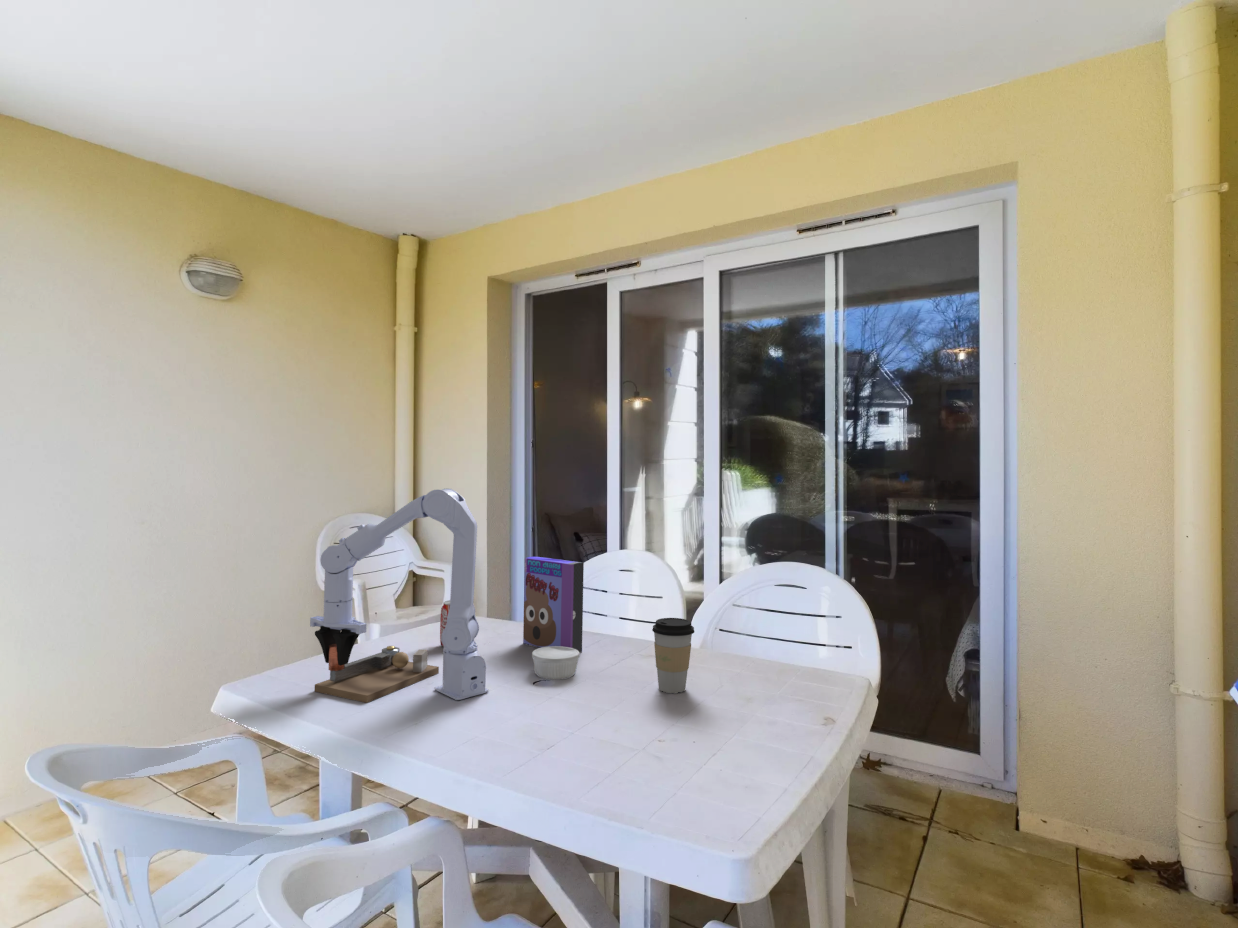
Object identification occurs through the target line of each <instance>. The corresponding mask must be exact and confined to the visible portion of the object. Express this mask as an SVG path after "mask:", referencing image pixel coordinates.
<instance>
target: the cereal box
mask: <svg viewBox="0 0 1238 928" xmlns="http://www.w3.org/2000/svg"><path fill="white" fill-rule="evenodd" d="M584 565H585V563H584V562H581V561H575V560H573V561H572V560H564V559H558V558H550V557H542V556H541V557H540V556H528V557H524V577H523V578H524V584H523V585H524V586H523V587H524V588H523V589H524V590H523V591H524V592H523V632H522V633H523V634H522V635H523V637H522V644H523V645H526V646H530V647H534V648H537V649H538V648H542V647H548V646H562V647H569V648H573V649H576V650H578V651H579V654H580V653H582V652H583V620H584V619H583V617H584V614H583V613H584V611H583V610H584V572H585V571H584Z"/></svg>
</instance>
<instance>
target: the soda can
mask: <svg viewBox="0 0 1238 928" xmlns="http://www.w3.org/2000/svg"><path fill="white" fill-rule="evenodd" d="M442 603H443V604H442V607H441V609H440V617H439V618H440V625H439V641H440V642H439V643H440V645H441V646H442V647H443V648H444V646H443V644H442V640H441V636H442V632H443V630H444V629H445V627H446V624H447V616H448V612H449V609H450V599H449V600H446V601H445V600H444V601H443V602H442Z"/></svg>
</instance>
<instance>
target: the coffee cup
mask: <svg viewBox="0 0 1238 928" xmlns="http://www.w3.org/2000/svg"><path fill="white" fill-rule="evenodd" d="M651 629H652V630H651V631H652V632H653V633H654V635H653V636H654V643H653V644H654V654H655V655H654V657H655V667H656V673H657V687H658V689H659V691H660V692H662V691H663V692H662V693H665V692H666V694H672V693H674V694H679V693H678V692H681V693H683V692H682V691H684V690H685V691H686V686H687V678H688V670H689V667H690V659H691V651H692V637H693V636H692V634H694V633H695V627H694V626H693V625H692V622H691V621H690V620H688V619H685V618H680V617H679V618H678V617H663V618H659V619H656V620H655V624H653V625H652V628H651ZM685 691H684V692H685Z"/></svg>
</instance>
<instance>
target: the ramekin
mask: <svg viewBox="0 0 1238 928" xmlns="http://www.w3.org/2000/svg"><path fill="white" fill-rule="evenodd" d="M531 658H532V661H533V669H534V674H536V675H537V677H538V678H540V679H541V678H542V679H543V680H544V679H545V680H552V681H553V680H565V679H569V678H572V677H573V676H574V675H575V674H576V671H577V666H578V661H579V658H580V653H579V651H578V650H576V649H573V648H569V647H562V646H548V647H542V648H538V647H537V648H536V649H534V650H533V651H532V652H531Z"/></svg>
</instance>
